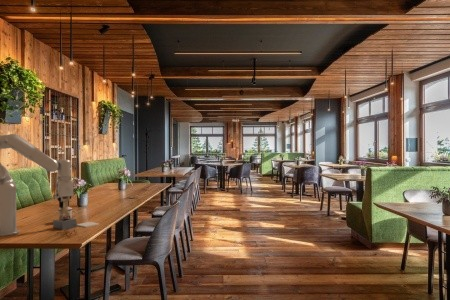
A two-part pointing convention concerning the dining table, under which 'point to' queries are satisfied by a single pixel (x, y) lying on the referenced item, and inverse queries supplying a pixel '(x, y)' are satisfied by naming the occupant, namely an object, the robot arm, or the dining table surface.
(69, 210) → the teacup with lid
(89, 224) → the tile
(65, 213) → the peg
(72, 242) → the dining table surface
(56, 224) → the eye block
